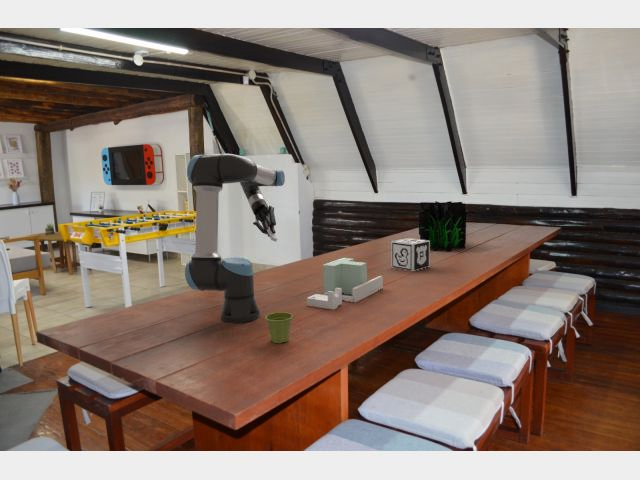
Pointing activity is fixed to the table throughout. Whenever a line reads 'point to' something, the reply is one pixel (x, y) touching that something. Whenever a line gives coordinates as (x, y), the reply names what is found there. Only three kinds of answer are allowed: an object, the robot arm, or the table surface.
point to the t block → (343, 275)
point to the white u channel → (364, 289)
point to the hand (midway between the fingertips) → (274, 239)
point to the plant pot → (279, 326)
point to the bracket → (326, 299)
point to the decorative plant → (443, 225)
